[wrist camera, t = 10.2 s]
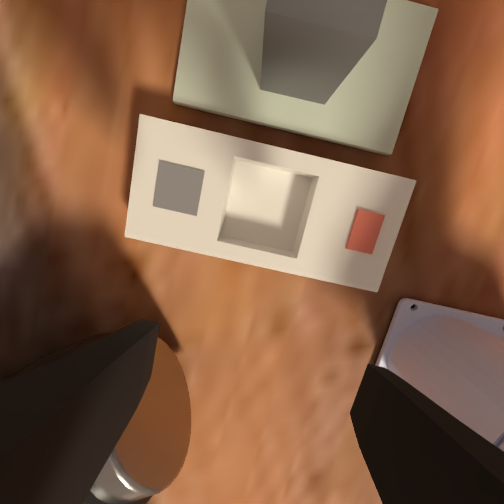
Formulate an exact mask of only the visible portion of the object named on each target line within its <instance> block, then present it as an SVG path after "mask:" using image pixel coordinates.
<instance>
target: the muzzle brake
mask: <svg viewBox="0 0 504 504" xmlns="http://www.w3.org/2000/svg"><path fill="white" fill-rule="evenodd" d="M111 334H113V333H102V334H98V335H95V336H92V337H90V338H87V339H85V340H82V341H80V342H78V343H75V344H73V345H71V346H68V347H66V348H63V349H61V350H59V351H56V352H54V353H51V354H49V355H47V356H44V357H42V358H40V359H39V360H37V361H35V362H34V363H32V364H31V365H29V366H27V367H26V368H25V369H24V370H22V371H21V372H19V373H16V374H14V375H11V376H9V377H6V378H4V379H2V380H0V382H3V381H5V380H8V379H11V378H14V377H16V376H19V375H22V374H25V373H27V372H30V371H32V370H35V369H37V368H40V367H42V366H45V365H47V364H49V363H52V362H54V361H56V360H58V359H61V358H63V357H65V356H67V355H70V354H72V353H74V352H76V351H78V350H81V349H83V348H85V347H87V346H89V345H91V344H93V343H95V342H97V341H99V340H101V339H103V338H105V337H107V336H109V335H111ZM190 434H191V406H190V397H189V392H188V387H187V383H186V379H185V376H184V373H183V370H182V367H181V365H180V363H179V361H178V359H177V357H176V355H175V354H174V352H173V351H172V349H171V348H170V347H169V346H168V345H167V343H166V342H164V341H163V340H162V339H161V338H160V337H158V338H157V345H156V351H155V357H154V363H153V369H152V375H151V378H150V380H149V383H148V385H147V387H146V390H145V392H144V394H143V397H142V399H141V401H140V403H139V405H138V407H137V409H136V411H135V413H134V415H133V416H132V418H131V420H130V422H129V423H128V425H127V427H126V429H125V430H124V432H123V434H122V436H121V437H120V439H119V441H118V443H117V444H116V446H115V448H114V449H113V451H112V453H111V455H110V456H109V458H108V460H107V462H106V463H105V465H104V467H103V469H102V470H101V472H100V474H99V475H98V477H97V479H96V481H95V482H94V484H93V486H92V488H91V490H90V491H89V493H88V495H87V497H86V499H85V501H84V503H83V504H146V503H147V502H148V501H149V500H150V498H151V497H152V496H153V495H155V494H158V493H160V492H161V491H163V490H164V489H165V488H167V487H168V486H169V485H170V484H171V483H172V482H173V481H174V479H175V478H176V477H177V476H178V474H179V472H180V470H181V468H182V466H183V464H184V461H185V458H186V455H187V452H188V447H189V442H190Z"/></svg>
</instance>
